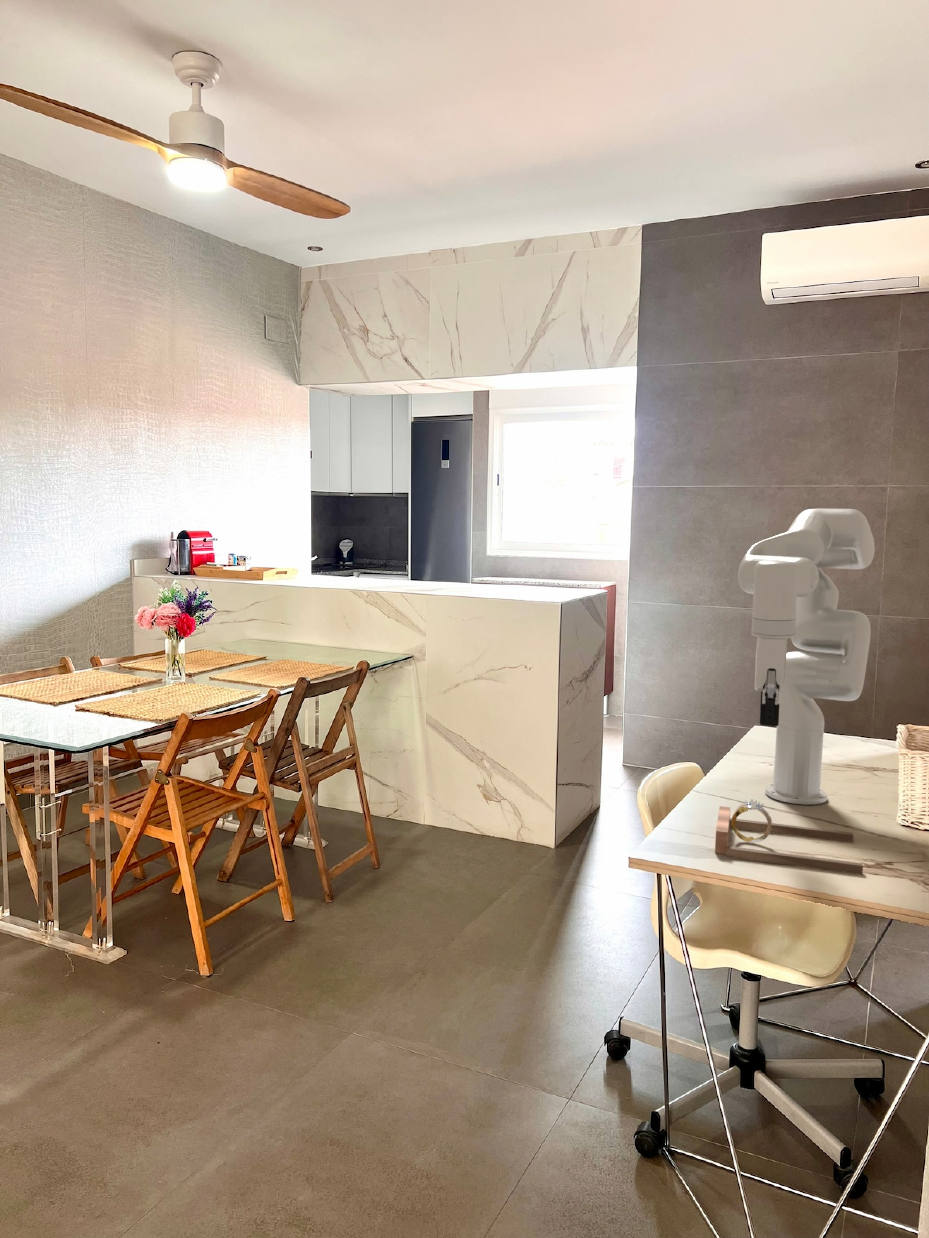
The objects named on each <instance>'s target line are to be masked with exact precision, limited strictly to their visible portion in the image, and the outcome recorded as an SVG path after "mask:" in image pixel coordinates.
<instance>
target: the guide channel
mask: <svg viewBox="0 0 929 1238" xmlns="http://www.w3.org/2000/svg"><path fill="white" fill-rule="evenodd" d="M716 822H717V823H716V828H715V845H714V846H715V847H714V853H715V854H723V855H726V857H728V858H733V859H742V860H751V861H755V862H756V861H757V862H765V863H771V862H773V864H779V865H780V864H781V865H786V866H787V865H788V866H797V867H801V868H811V869H818V870H825V871H832V872H841V873H842V872H843V873H849V874H855V875H856V874H857V875H863V872H864V864H863V863H862V862H855V861H846V860H839V859H831V858H824V857H823V858H821V857H815V856H808V855H799V854H792V853H784V852H783V853H782V852H776V851H768V850H761V849H754V848H745V847H738V846H730V845H728V843H729V835H730V834H729V833H730V828H731V829H733V828H732V817H731V807H729V806H721V805H720V806H719V809H718V816H717V821H716ZM736 827H737V829H738V830H747V831H756V832H764V833H766V831H767V828H768V822H767V821H766V822H765V821H760V820H759V821H757V820H750V819H740V818H736ZM771 833H772V834H780V835H786V836H787V835H789V836H795V837H796V836H797V837H804V838H810V839H811V838H813V839H814V838H815V839H822V840H828V841H829V840H830V841H837V842H846V843H854V832H850V831H842V830H841V831H840V830H835V829H834V830H832V829H824V828H817V827H808V826H806V827H805V826H800V825H791V824H790V825H789V824H783V823H773V822H772V828H771V831H770V834H771Z"/></svg>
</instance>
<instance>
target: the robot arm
mask: <svg viewBox="0 0 929 1238" xmlns="http://www.w3.org/2000/svg"><path fill="white" fill-rule="evenodd" d="M875 547H876V546H875V539H874V535H873V533H872V530H871V526H870V524H869V522H868V520H867V517H866V516H865V515H864V514H863V512H861V511H860V510H859V509H854V508H826V507H825V508H809V509H805V510H803V511H801V512H800V513H799V514H798V515H797V516H796V517H795V519H794V520H793V521H792V523H791V525H790V526H789V528H788V530H787V531H786V532H783V533H780V534H778V535H777V534H776V535H775V536H772V537H769V538H766V539H762V540H761V541H759V542H757V543H756V542H755V544H753V545H752V546H750V548H749V549H748V550H747V552H746V553H745V555H744V556H743V558H742V560H741V562H740V563H739V566H738V572H737V580H738V581H737V582H738V585H739V587H740V588H741V590H742V592H745V593H747V594H749V595H753V596H752V618H751V636H753V637H754V638H755V637H756V638H757V639H756V646H755V647H756V648H755V663H754V666H755V667H754V669H755V670H754V690H755V691H759V690H761V691H760V708H759V710H760V712H759V714H760V715H759V725H761V726H766V727H767V726H768V727H769V726H770V727H776V729H775V747H774V749H775V750H774V762H773V764H774V766H773V777H772V778H773V781H772V783H770V784H768V785H766V786H765V788H764V789H765V791H764V792H765V794H766V796H768V797H769V798H772V799H773V800H777V801H780V802H783V803H787V804H788V803H789V804H794V805H804V806H805V805H807V806H808V805H811V806H812V805H821V804H824V803H825V802H826V801H828V793H826V792H825V790H823V789H821V775H822V762H823V761H822V760H823V750H824V749H823V748H824V747H823V746H824V745H823V744H824V733H825V732H824V731H825V717H824V714H823V712H822V710H821V709H820V707H819V705H818V704H817V702H816V701H815V700H814V699H823V700H831V701H833V700H834V701H841V702H852V701H856V700H858V699H859V697H860V696H861V694H862V692H863V690H864V689H863V688H864V684H865V678H866V677H865V676H866V671H867V664H868V658H869V657H868V656H869V651H870V644H871V631H872V630H871V623H870V619H869V618H868V616H867V615H866V614H865V613H863V612H861V611H857V610H848V609H838V603H839V597H840V592H839V589H838V588H837V586H836V585H835V583H834V582H833V580H832V579H831V578H830V576H828V575H827V574H826V573H825V572H824V571H823V570H822V569H823V568H824V569H840V570H842V569H843V570H863V569H865V568H868V567H869V566H870V565H871V564H872V562H873V559H874V556H875V551H876V548H875ZM788 639H789V640H791V643H792V645H793V646H794V647H796V648H798V649H800V650H802V651H800V650H797V651H796V650H794V651H789V652H788Z"/></svg>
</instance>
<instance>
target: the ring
mask: <svg viewBox="0 0 929 1238" xmlns="http://www.w3.org/2000/svg"><path fill="white" fill-rule="evenodd" d="M753 800H754V799H752V798H751V799H750V801H747V800H744V803H742V804H740V805H739V806H737V807H736V809H735V810H734V813H733V815H732V817H731V818H732V828H731V829H732V831H733V832H734V834H735V836H737V837H738V838H739V839H740V840H742V841H744V842H746V843H748V844H750V845H752V844H756V843H760V842H763V841H764V840H766V839H767V838H768V836H769V835H770V834H771V833H770V831H771V828H772V823H773V821H772V817H771V815H770V813H769V812H768V811H767V810H766V809H765V808H764V807H763V806H764V803H761V801H757V800H755V801H753ZM754 810H757V811H758V812H760V813H761V814H762V815H763V816H764V817H765V819H766V822H767V823H768V828H767V831H766V832H764V834H763V835H762V836H760V837H755V838H754V837H753V836H749V837H748V836H745V835H743V834H742V833H741V832H740V831H739V829H737V827H736V819H738V817H739V816H740V815H741V814H743V813H746V812H749V811H754Z"/></svg>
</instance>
